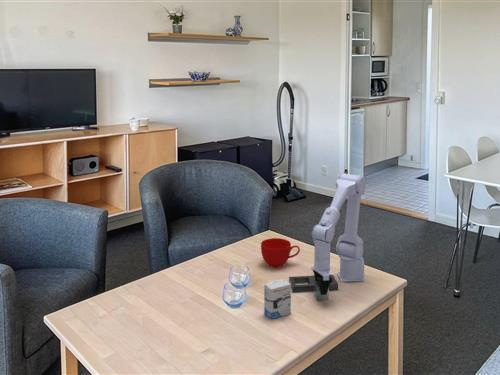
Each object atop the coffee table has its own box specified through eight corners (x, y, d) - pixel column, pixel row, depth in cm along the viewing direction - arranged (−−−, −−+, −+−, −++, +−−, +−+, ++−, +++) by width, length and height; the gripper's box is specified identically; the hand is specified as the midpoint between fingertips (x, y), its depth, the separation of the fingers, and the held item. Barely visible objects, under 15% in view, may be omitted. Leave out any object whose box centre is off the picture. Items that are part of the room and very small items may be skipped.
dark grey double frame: (332, 280, 205) (332, 274, 204) (338, 290, 196) (338, 284, 196) (288, 282, 204) (289, 276, 203) (292, 292, 195) (292, 286, 194)
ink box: (270, 319, 175) (270, 289, 172) (263, 313, 180) (263, 283, 177) (291, 313, 179) (291, 283, 176) (284, 307, 183) (284, 278, 180)
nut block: (325, 294, 193) (326, 280, 191) (328, 300, 189) (328, 285, 187) (314, 295, 192) (314, 280, 191) (316, 301, 188) (316, 286, 187)
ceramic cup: (300, 270, 214) (301, 248, 211) (261, 271, 214) (260, 249, 212) (298, 258, 227) (298, 237, 224) (260, 258, 227) (260, 238, 224)
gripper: (307, 249, 193) (307, 281, 196) (315, 264, 179) (314, 299, 182) (325, 248, 193) (324, 281, 197) (335, 263, 179) (333, 298, 183)
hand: (321, 289), depth 190 cm, fingers open, 7 cm apart
